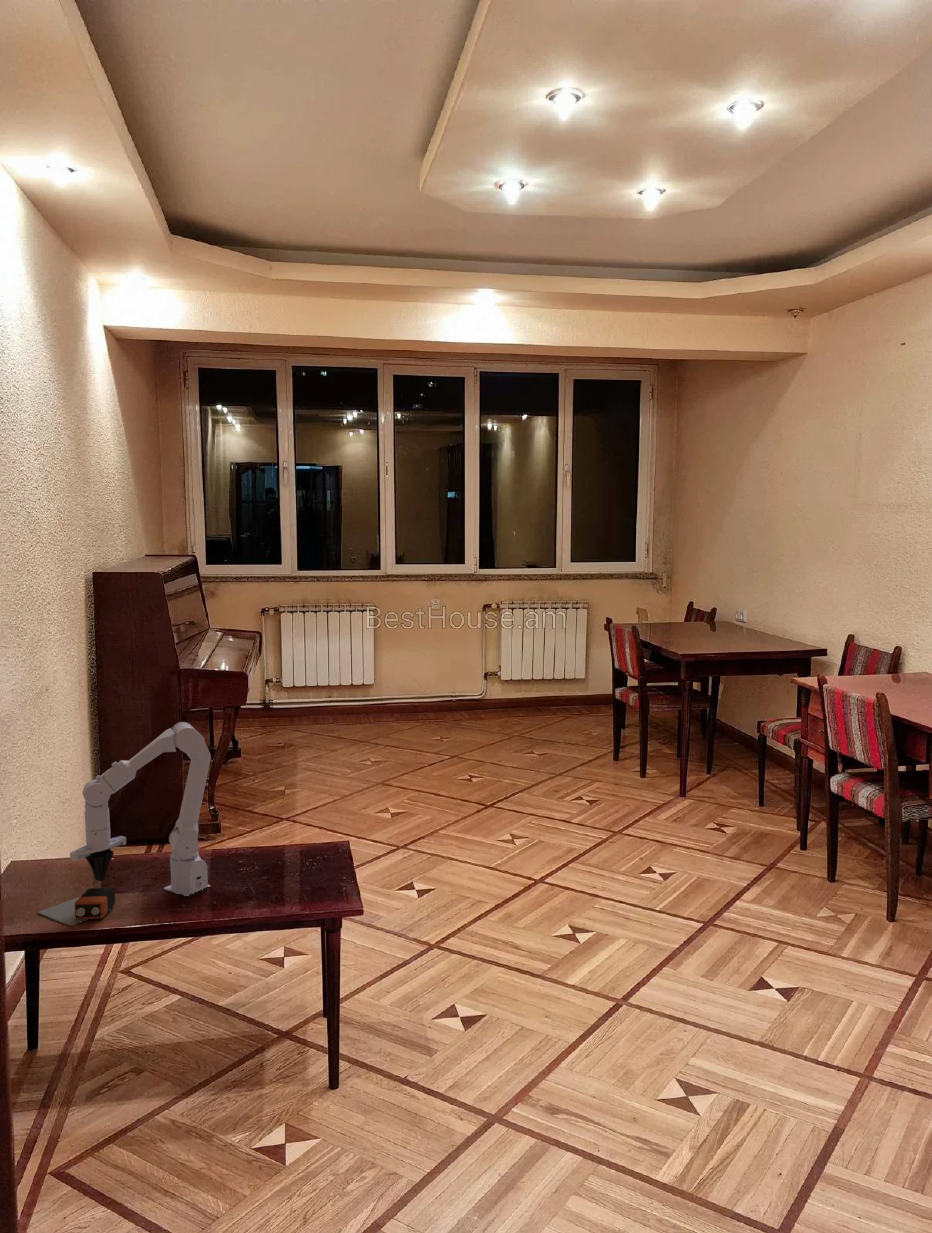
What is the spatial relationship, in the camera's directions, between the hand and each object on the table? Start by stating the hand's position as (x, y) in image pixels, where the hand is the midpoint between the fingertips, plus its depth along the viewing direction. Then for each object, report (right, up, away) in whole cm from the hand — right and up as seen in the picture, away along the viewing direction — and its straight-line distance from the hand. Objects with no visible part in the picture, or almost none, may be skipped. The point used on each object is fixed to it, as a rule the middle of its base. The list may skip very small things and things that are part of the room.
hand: (100, 879), depth 220 cm
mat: (-5, -7, -4) cm, 9 cm away
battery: (+1, -4, -1) cm, 4 cm away
